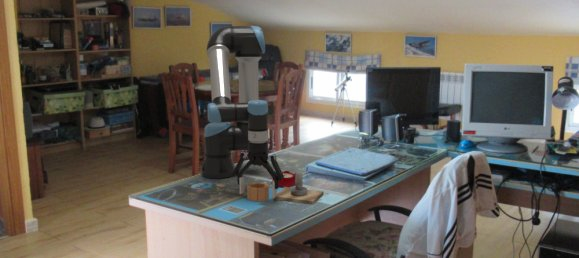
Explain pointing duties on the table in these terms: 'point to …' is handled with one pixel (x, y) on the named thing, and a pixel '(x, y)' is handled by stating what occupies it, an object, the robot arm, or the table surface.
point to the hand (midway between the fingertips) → (258, 195)
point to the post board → (300, 199)
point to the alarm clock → (286, 179)
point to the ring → (257, 191)
